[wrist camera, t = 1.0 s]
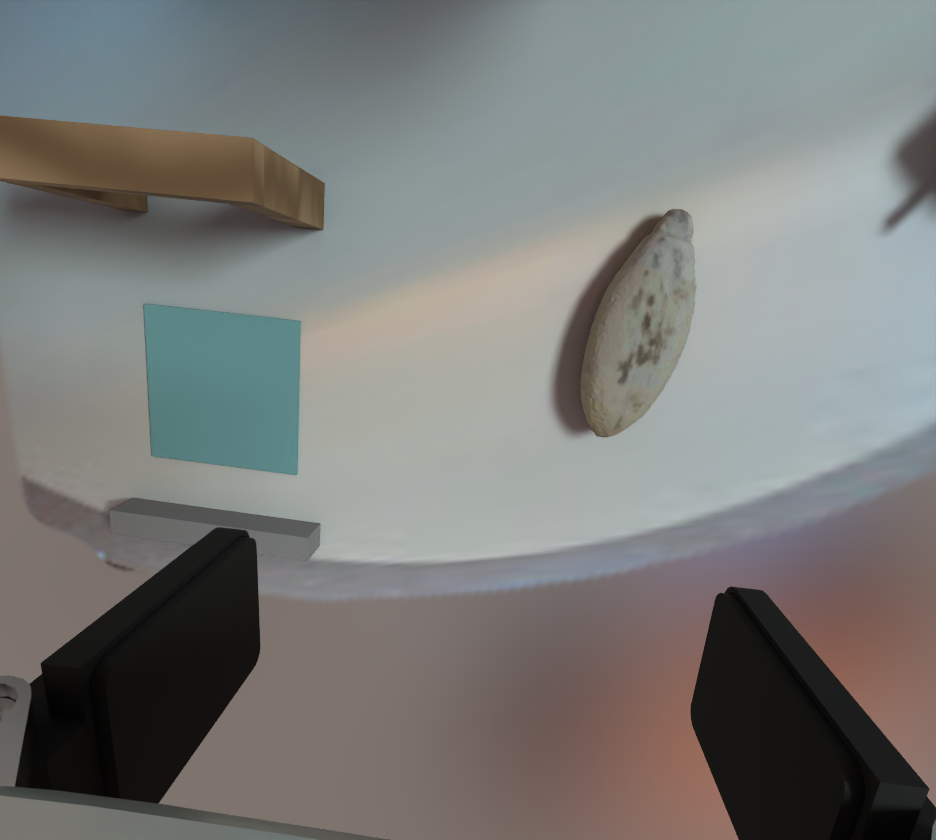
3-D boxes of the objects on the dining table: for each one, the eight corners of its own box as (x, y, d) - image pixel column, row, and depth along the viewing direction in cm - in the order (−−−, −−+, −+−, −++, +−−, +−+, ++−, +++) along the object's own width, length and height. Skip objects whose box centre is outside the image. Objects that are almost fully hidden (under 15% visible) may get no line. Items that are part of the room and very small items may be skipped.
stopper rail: (133, 497, 41) (109, 510, 39) (320, 523, 40) (307, 538, 38) (134, 520, 42) (111, 533, 39) (319, 546, 41) (307, 561, 38)
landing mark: (145, 303, 37) (143, 303, 37) (300, 320, 36) (299, 321, 36) (153, 455, 40) (151, 456, 40) (297, 474, 39) (296, 475, 39)
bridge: (118, 164, 35) (-28, 113, 26) (324, 183, 34) (252, 137, 25) (121, 209, 36) (-20, 176, 26) (323, 229, 35) (252, 202, 25)
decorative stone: (716, 224, 33) (739, 215, 29) (640, 441, 36) (653, 455, 33) (625, 202, 33) (638, 190, 30) (560, 420, 37) (564, 432, 33)
